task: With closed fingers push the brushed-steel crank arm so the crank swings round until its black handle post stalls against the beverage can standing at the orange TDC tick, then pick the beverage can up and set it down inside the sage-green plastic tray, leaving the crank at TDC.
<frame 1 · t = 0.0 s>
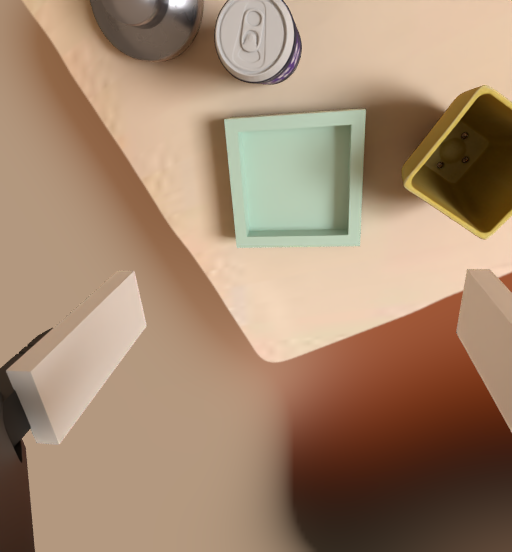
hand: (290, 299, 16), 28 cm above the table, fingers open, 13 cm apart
tray: (296, 179, 41), on the table
beverage can: (271, 51, 37), on the table
crank base: (151, 0, 36), on the table
flower pot: (450, 151, 38), on the table
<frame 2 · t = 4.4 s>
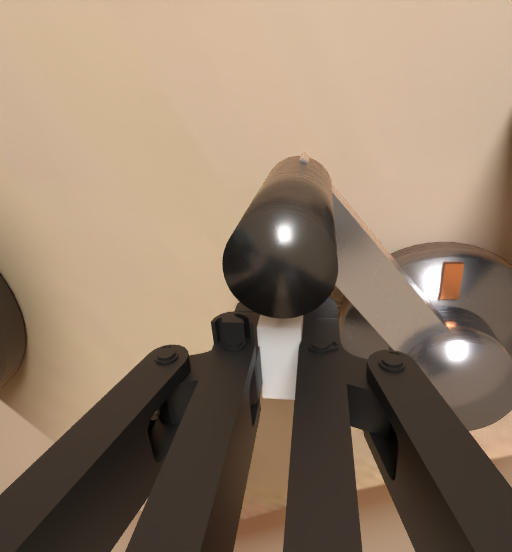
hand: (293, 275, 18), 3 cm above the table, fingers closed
crank: (397, 333, 15), point 7 cm above the table, hinge at 128.6°, touching gripper
crank base: (430, 326, 22), on the table
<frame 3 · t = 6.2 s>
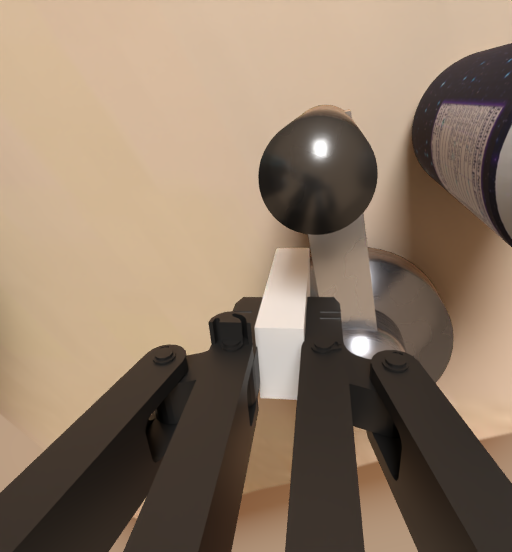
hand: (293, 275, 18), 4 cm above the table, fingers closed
crank: (345, 307, 16), point 7 cm above the table, hinge at 99.0°
beverage can: (472, 122, 18), on the table
crank base: (353, 325, 23), on the table
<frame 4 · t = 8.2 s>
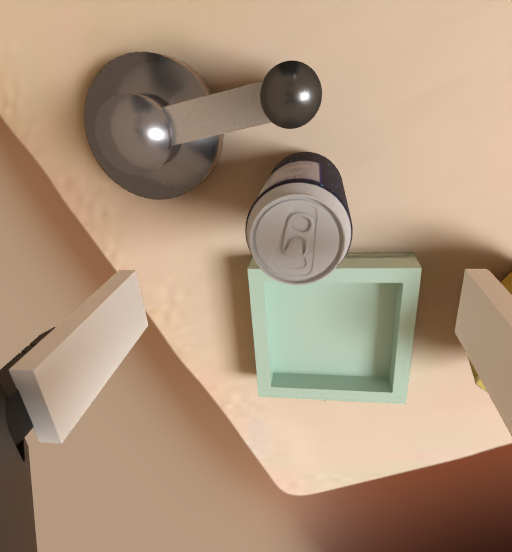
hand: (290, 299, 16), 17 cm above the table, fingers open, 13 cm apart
tray: (329, 320, 35), on the table
crank: (195, 119, 23), point 7 cm above the table, hinge at 99.0°
beverage can: (305, 187, 31), on the table
crank base: (159, 128, 30), on the table
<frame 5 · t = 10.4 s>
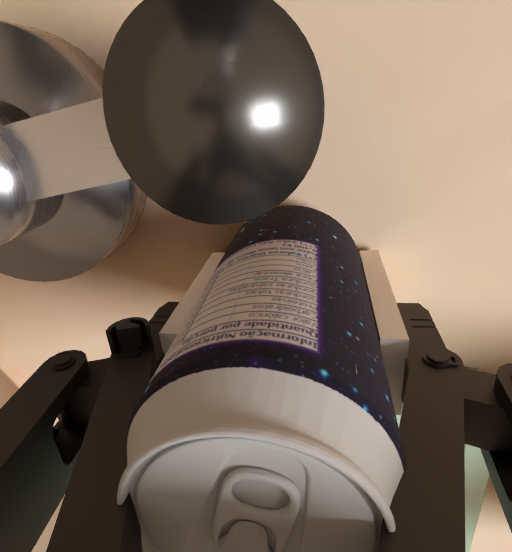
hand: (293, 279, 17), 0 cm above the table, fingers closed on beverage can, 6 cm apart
tray: (335, 456, 22), on the table
crank: (36, 160, 10), point 7 cm above the table, hinge at 99.0°
beverage can: (293, 260, 18), on the table, touching gripper
crank base: (39, 159, 17), on the table
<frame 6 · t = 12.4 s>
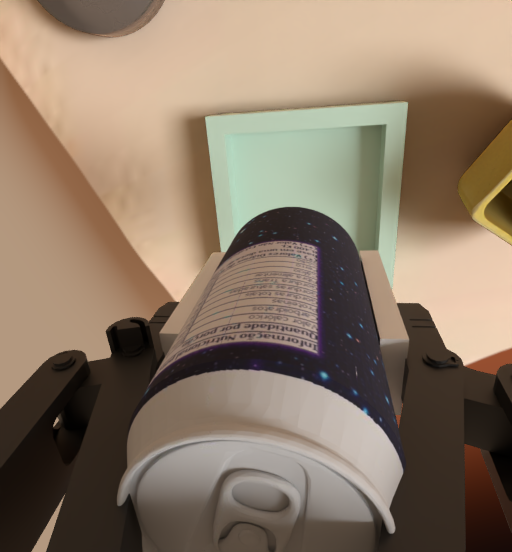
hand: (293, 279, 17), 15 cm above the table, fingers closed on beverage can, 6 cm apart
tray: (305, 197, 31), on the table
beverage can: (293, 261, 18), point 14 cm above the table, touching gripper
when the fingers open (3 cm above the table, at t = 14.8 s): beverage can drops 1 cm, resting on tray.
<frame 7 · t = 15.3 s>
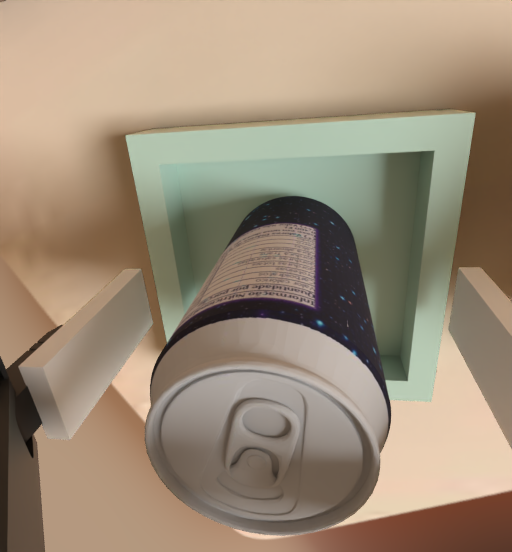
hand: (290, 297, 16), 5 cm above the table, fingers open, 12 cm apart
tray: (296, 255, 20), on the table
beverage can: (294, 248, 19), point 1 cm above the table, touching tray
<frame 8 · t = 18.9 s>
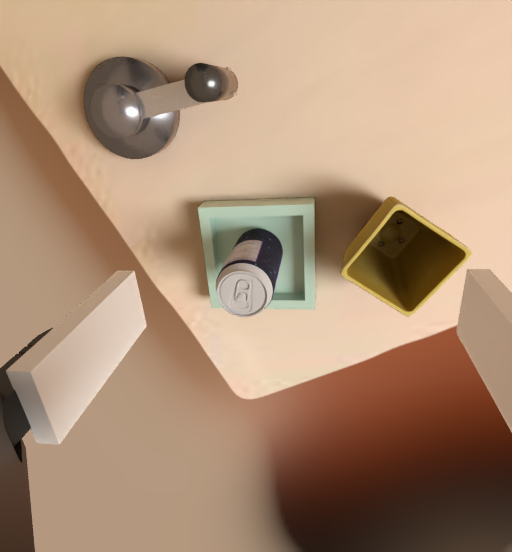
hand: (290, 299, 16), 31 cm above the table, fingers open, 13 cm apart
tray: (262, 250, 48), on the table
crank: (154, 100, 36), point 7 cm above the table, hinge at 99.0°
beverage can: (260, 247, 47), point 1 cm above the table, touching tray
crank base: (136, 109, 43), on the table
flower pot: (389, 232, 45), on the table
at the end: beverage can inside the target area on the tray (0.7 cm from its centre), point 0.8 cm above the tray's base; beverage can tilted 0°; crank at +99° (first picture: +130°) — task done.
